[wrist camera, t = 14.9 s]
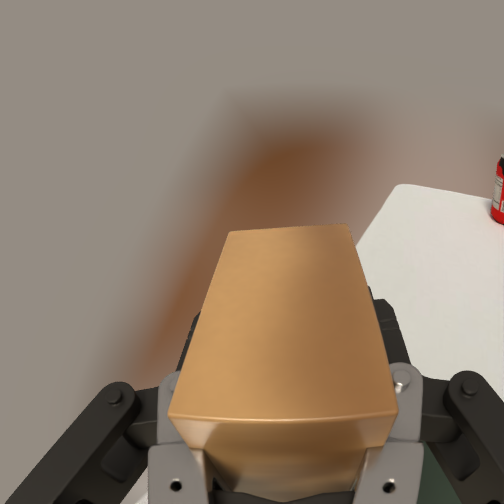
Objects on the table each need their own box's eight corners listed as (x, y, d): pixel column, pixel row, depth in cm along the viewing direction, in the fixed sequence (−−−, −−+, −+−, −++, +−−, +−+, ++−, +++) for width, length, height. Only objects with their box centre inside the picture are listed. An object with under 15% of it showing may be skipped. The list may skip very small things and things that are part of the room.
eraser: (244, 516, 9) (164, 415, 5) (260, 389, 15) (228, 230, 11) (345, 515, 9) (401, 412, 4) (339, 385, 15) (347, 222, 10)
